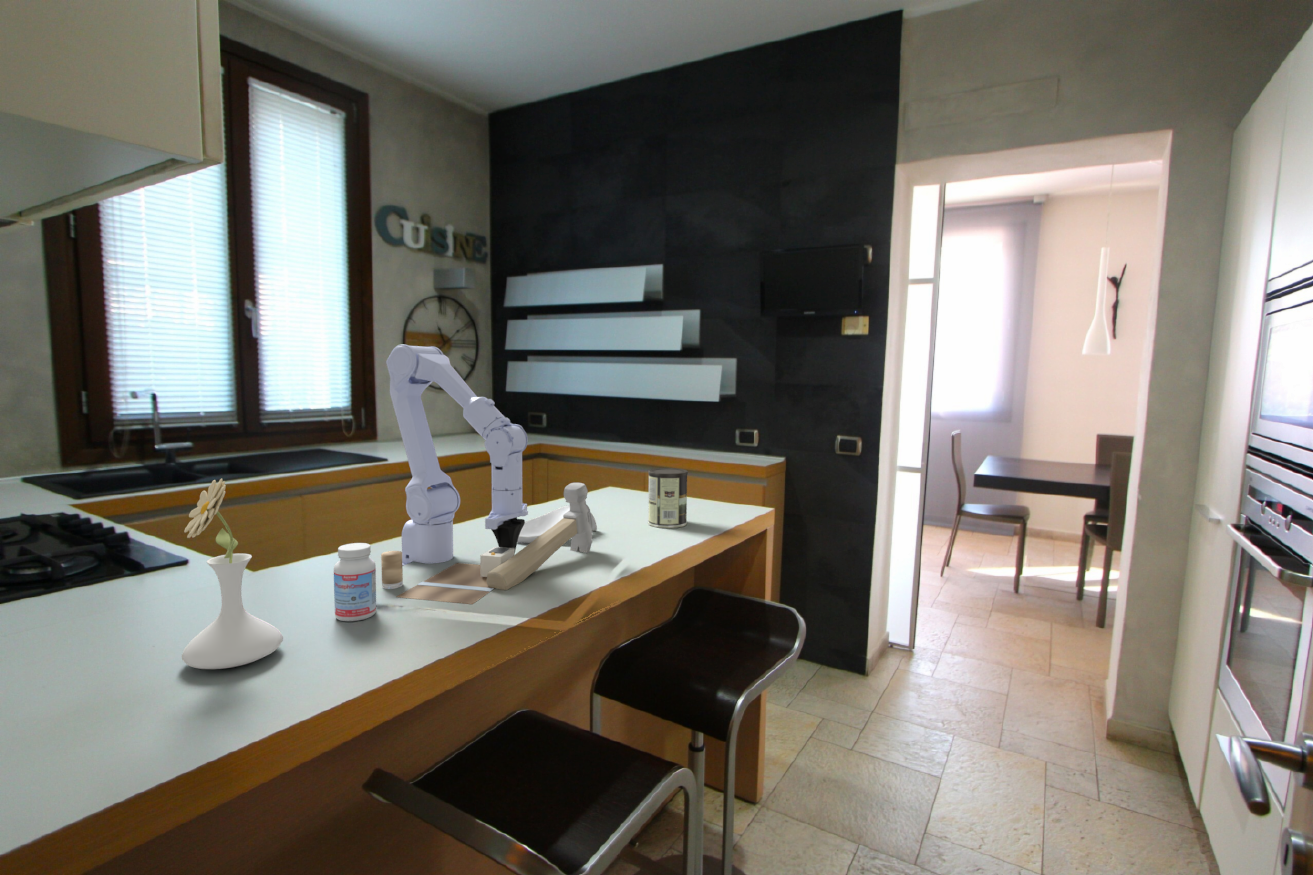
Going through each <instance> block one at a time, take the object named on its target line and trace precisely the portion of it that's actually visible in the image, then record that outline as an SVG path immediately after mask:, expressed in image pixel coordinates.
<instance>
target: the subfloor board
mask: <svg viewBox="0 0 1313 875" xmlns="http://www.w3.org/2000/svg"><path fill="white" fill-rule="evenodd" d="M486 581H487V577H481V571H480V564H475V563H461V562H455V563H454V564H453V565H450V566H449V567H447V568H445V569H443V570H441V571H440V572H437V573H436V574H434V575H433V576H431V577H429V578H427V579H425V580H424V581H421V582H419V583H417V584H416V585H414V586H412V587H411V588H409V589H407V590H405V591H404V592H401V593H400V594H399V595H396V596H395V598H400V599H401V598H402V599H411V600H412V599H413V600H423V601H432V602H441V603H442V602H443V603H454V604H463V605H474V604H476V602H478V601H479V600H480V599H482V598H484V597H486V595H488V594H489V593H490V592H492V591H493V590H495V589H496V588H493V587H489V586H488V584H487V582H486Z"/></svg>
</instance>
